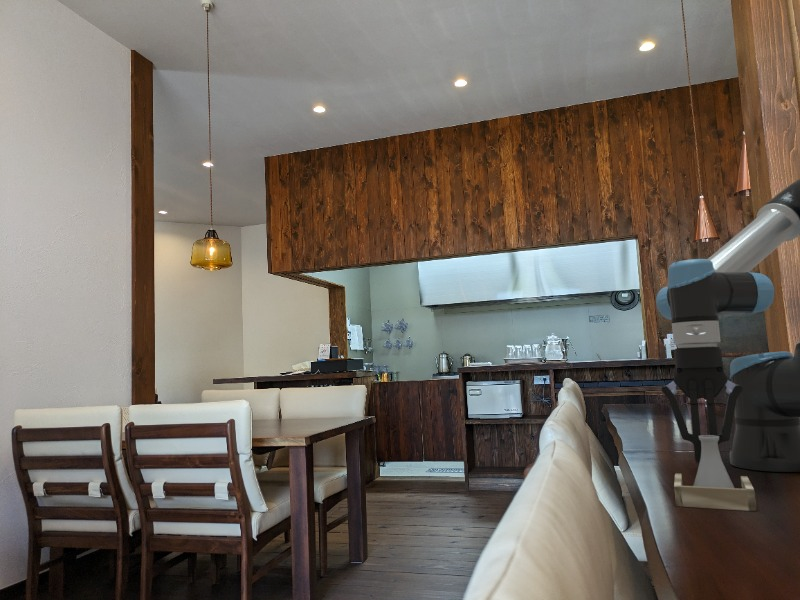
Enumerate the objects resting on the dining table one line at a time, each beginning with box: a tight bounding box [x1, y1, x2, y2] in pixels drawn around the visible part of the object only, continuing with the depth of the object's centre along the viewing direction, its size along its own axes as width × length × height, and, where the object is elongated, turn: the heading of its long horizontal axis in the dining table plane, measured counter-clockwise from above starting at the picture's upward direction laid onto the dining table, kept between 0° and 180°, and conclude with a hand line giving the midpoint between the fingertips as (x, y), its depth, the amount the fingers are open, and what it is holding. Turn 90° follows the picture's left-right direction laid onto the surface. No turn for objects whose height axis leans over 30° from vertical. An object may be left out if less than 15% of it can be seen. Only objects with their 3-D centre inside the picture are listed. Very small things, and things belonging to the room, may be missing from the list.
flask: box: [692, 434, 735, 488], centre depth 97 cm, size 7×7×10 cm
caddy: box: [673, 473, 758, 512], centre depth 94 cm, size 12×11×3 cm
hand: (709, 482), depth 100 cm, fingers closed
